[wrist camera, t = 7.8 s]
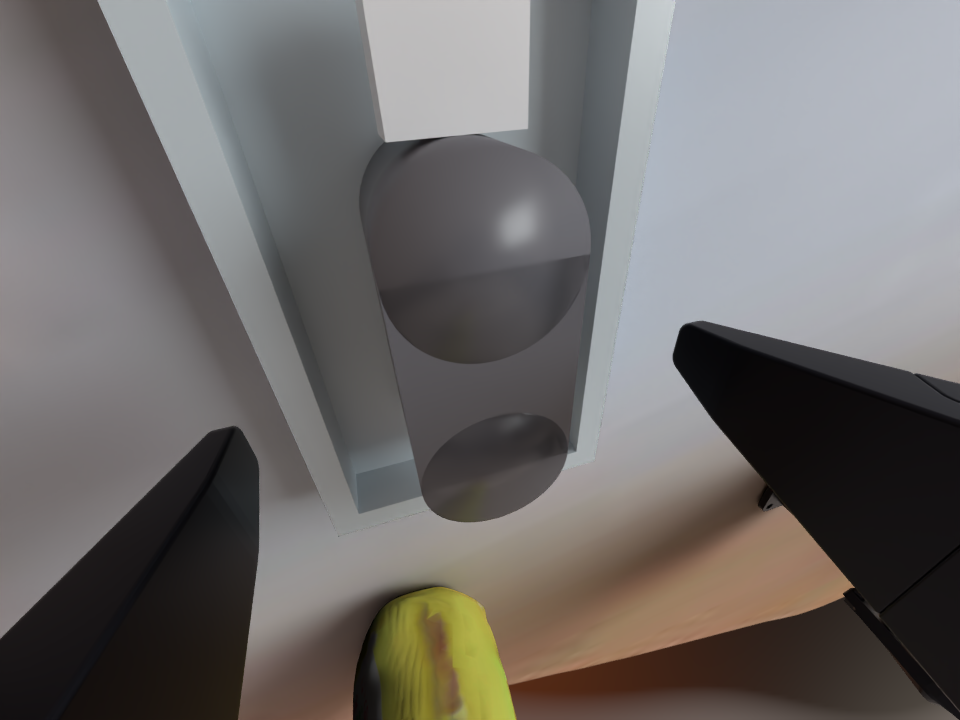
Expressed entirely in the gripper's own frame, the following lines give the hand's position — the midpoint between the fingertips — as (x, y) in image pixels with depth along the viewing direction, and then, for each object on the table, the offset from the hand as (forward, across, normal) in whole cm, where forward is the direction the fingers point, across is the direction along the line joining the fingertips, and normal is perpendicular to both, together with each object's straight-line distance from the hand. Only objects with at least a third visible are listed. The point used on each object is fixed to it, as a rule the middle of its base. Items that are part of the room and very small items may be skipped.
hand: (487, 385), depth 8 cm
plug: (+4, 0, -1) cm, 4 cm away
